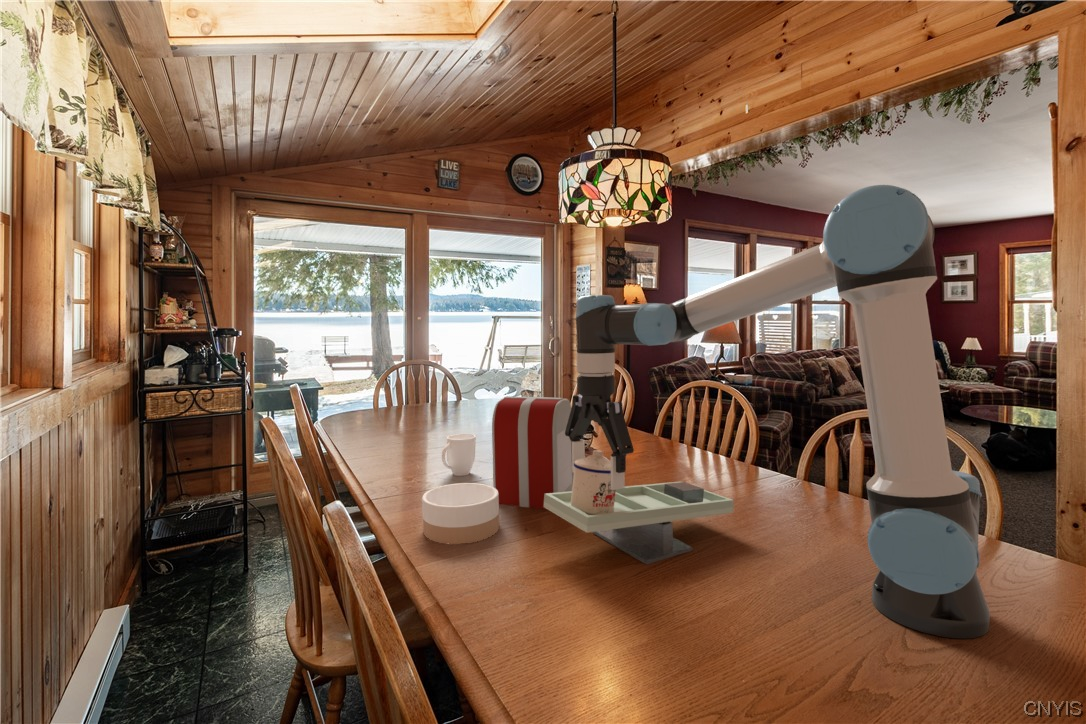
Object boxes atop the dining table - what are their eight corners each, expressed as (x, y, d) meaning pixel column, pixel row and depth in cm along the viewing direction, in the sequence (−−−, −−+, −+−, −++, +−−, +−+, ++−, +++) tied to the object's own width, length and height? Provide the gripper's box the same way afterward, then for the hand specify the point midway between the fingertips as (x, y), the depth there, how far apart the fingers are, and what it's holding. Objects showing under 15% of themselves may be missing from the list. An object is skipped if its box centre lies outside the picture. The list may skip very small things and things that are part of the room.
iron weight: (702, 502, 119) (703, 488, 119) (682, 504, 116) (683, 490, 116) (683, 494, 124) (684, 482, 124) (663, 497, 121) (664, 483, 121)
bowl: (408, 531, 123) (406, 495, 122) (467, 511, 136) (466, 478, 135) (455, 552, 111) (453, 512, 111) (514, 527, 124) (514, 492, 123)
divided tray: (732, 512, 116) (733, 500, 116) (586, 532, 98) (587, 517, 98) (680, 492, 130) (681, 481, 130) (543, 507, 112) (544, 493, 112)
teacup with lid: (596, 518, 101) (603, 456, 101) (559, 505, 108) (566, 447, 107) (631, 509, 110) (637, 453, 110) (595, 498, 116) (601, 444, 116)
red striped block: (557, 510, 135) (555, 403, 133) (492, 503, 140) (489, 400, 138) (574, 490, 150) (573, 394, 148) (515, 485, 156) (513, 392, 154)
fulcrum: (692, 550, 110) (692, 519, 109) (646, 564, 104) (646, 531, 103) (635, 522, 125) (635, 494, 125) (593, 533, 119) (592, 504, 119)
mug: (462, 468, 175) (462, 431, 174) (481, 473, 169) (481, 435, 168) (434, 476, 166) (433, 438, 164) (453, 482, 160) (453, 442, 159)
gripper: (652, 378, 97) (653, 493, 99) (577, 368, 119) (578, 463, 121) (619, 381, 94) (620, 500, 95) (548, 370, 115) (549, 468, 117)
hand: (597, 479), depth 108 cm, fingers open, 13 cm apart
